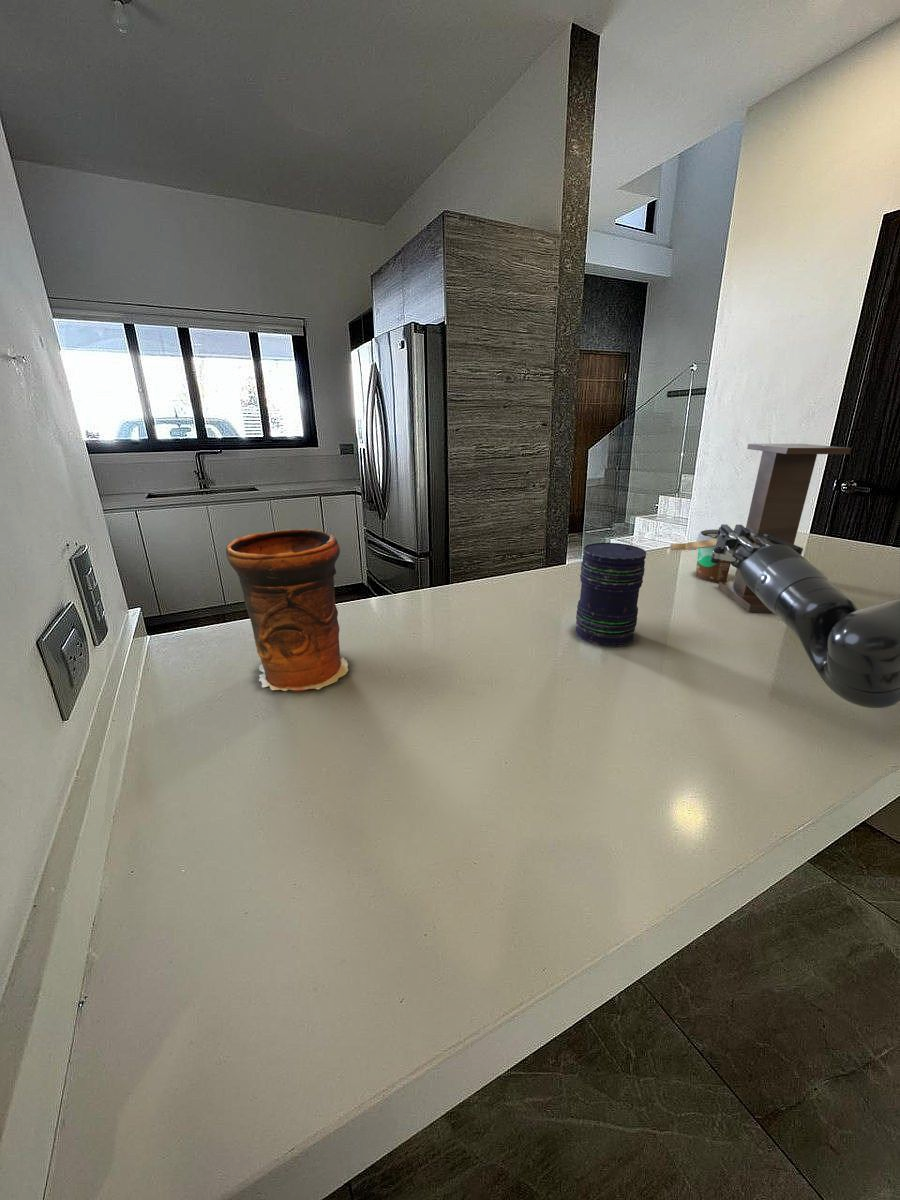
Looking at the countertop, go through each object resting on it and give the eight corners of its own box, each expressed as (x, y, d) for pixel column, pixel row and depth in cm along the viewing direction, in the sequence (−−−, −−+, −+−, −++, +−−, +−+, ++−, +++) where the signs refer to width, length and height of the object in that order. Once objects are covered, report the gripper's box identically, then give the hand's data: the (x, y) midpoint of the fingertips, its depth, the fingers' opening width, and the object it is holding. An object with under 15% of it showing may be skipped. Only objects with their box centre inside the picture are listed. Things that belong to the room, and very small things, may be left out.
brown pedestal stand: (804, 614, 90) (851, 448, 80) (748, 612, 91) (787, 447, 81) (766, 589, 103) (802, 443, 93) (717, 587, 104) (748, 443, 94)
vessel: (237, 702, 63) (209, 556, 56) (260, 653, 76) (239, 529, 69) (348, 693, 65) (335, 550, 58) (352, 646, 78) (341, 525, 71)
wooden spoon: (753, 543, 77) (753, 536, 77) (722, 543, 77) (723, 536, 77) (690, 550, 100) (690, 544, 100) (666, 550, 100) (666, 544, 100)
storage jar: (600, 651, 76) (611, 561, 71) (562, 628, 85) (570, 546, 79) (647, 640, 80) (661, 554, 75) (607, 619, 88) (616, 540, 83)
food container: (684, 568, 118) (691, 528, 115) (711, 569, 117) (719, 529, 113) (697, 583, 107) (706, 540, 103) (727, 585, 106) (737, 541, 102)
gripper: (725, 604, 68) (681, 549, 82) (825, 606, 67) (763, 550, 82) (742, 557, 64) (693, 508, 78) (849, 559, 63) (779, 508, 78)
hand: (729, 529), depth 80 cm, fingers closed on wooden spoon
